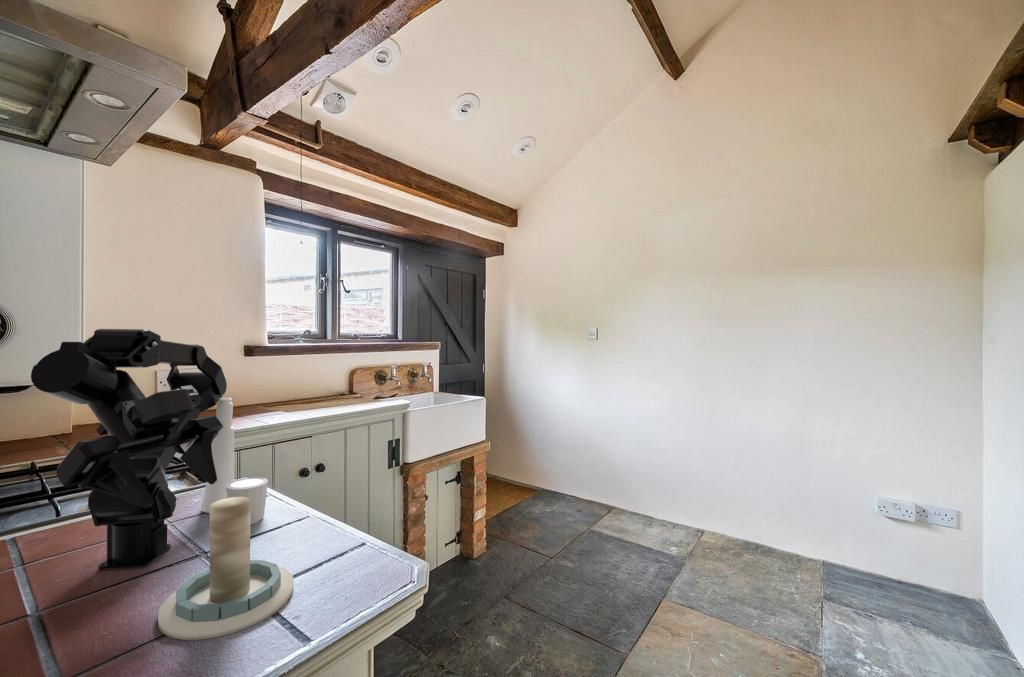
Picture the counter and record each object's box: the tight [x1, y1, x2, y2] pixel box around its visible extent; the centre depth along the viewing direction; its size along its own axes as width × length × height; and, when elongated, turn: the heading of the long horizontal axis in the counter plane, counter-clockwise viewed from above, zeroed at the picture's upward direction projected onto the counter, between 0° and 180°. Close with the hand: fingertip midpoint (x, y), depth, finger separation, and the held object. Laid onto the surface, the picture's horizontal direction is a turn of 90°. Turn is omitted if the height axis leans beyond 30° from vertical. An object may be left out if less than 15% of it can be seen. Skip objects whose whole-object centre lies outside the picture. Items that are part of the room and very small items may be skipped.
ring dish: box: [157, 559, 295, 641], centre depth 59 cm, size 15×15×2 cm
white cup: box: [226, 476, 269, 525], centre depth 85 cm, size 7×7×7 cm
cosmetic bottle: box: [200, 397, 235, 514], centre depth 89 cm, size 6×6×22 cm
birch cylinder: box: [209, 497, 251, 604], centre depth 59 cm, size 4×4×12 cm
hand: (184, 493), depth 61 cm, fingers open, 9 cm apart
